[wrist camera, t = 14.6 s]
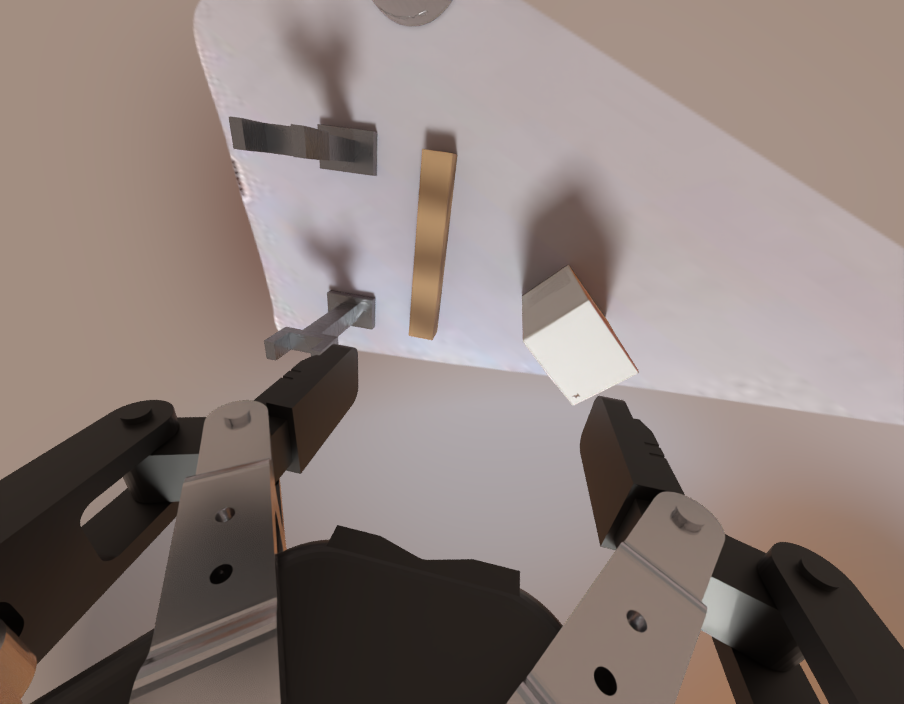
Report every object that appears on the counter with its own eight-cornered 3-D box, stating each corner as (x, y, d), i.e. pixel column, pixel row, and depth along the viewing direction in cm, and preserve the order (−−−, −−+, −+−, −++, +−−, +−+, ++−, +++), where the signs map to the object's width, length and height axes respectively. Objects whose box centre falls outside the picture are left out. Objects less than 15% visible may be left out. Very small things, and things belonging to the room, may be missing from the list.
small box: (606, 318, 40) (641, 374, 28) (558, 346, 42) (572, 408, 31) (568, 262, 38) (589, 298, 26) (520, 295, 40) (520, 341, 29)
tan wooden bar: (429, 151, 36) (422, 149, 33) (457, 155, 35) (452, 153, 33) (415, 326, 45) (408, 335, 42) (437, 330, 45) (432, 340, 42)
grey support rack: (322, 125, 36) (224, 99, 24) (377, 132, 35) (304, 108, 23) (332, 318, 46) (267, 367, 34) (374, 326, 46) (323, 378, 34)
